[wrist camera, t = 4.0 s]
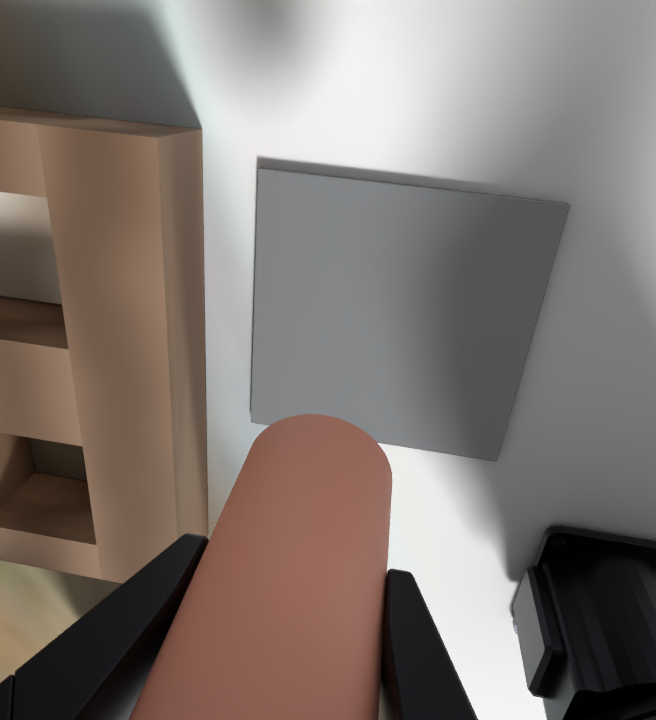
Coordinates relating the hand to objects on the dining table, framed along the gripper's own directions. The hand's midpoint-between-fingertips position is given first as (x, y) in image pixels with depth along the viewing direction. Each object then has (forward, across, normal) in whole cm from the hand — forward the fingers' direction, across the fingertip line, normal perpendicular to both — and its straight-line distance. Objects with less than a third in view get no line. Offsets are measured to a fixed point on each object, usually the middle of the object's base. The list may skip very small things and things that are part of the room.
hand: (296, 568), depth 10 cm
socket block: (+12, +12, +3) cm, 17 cm away
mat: (+12, -1, 0) cm, 12 cm away
